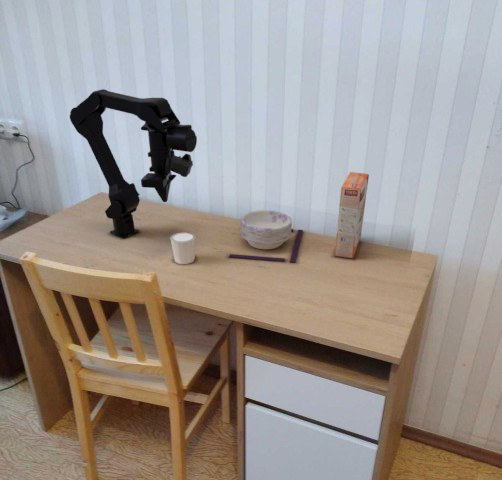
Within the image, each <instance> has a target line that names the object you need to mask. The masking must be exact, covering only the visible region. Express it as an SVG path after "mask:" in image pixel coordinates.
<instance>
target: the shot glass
mask: <svg viewBox="0 0 502 480" xmlns="http://www.w3.org/2000/svg"><path fill="white" fill-rule="evenodd" d="M170 242H171V248H172V249H171V250H172V253H173V254H172V255H173V258H174V262H175V263H176V264H179V265H189V264H191V263H193V262H194V261H195V258H196V236H195V234H194V233H191V232H178V233H174V234H172V235H171V236H170Z"/></svg>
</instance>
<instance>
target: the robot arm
mask: <svg viewBox="0 0 502 480" xmlns="http://www.w3.org/2000/svg"><path fill="white" fill-rule="evenodd" d="M107 109H110V110H112V111H113V110H114V111H118V112H122V113H126V114H131V115H134V116H136V117H137V118H138V119H139V120H140V121H143V122H145V123H144V124H143V125H142V126H141V127H140V130H141V131H144V132H145V131H146V132H147V134H148V136H147V137H148V144H149V151H148V152H147V157H148V158H150V164H151V166H150V167H149V168H148V169H149V170H148V171H149V172H147V173H146V174H145V175H144V176H143V177H142V178H141V179H140V184H141V187H142V188H146V189H147V188H149V189H154V190H155V192H156V193H157V195H158V196H159V199H161V201H162V202H163V203H167V202H168V199H169V194H170V187H171V183H172V182H173V180H175V178H176V177H177V174H178V175H180V176H181V177H182V178H183V177H184V178H187V177H188V175H190V174H191V170H192V167H193V166H194V163H193V162H194V161H193V160H192V157H191V155H190V154H189V153H192V152H194V151H195V150H196V147H197V143H198V138H197V134H196V132H195V131H194V130H193V128H192V125H191V124H181V121H180V119H179V118H178V116H177V115H176V113H175V112H174V110H173V108H172V107H171V104H170V103H169V101H168V99H166V98H164V97H143V98H141V97H136V96H132V95H127V94H124V93H123V94H122V93H118V92H114V91H110V90H108V89H105V88H104V89H103V88H102V89H99V90H94V91H92V92H91V93H90V94H89V96H88V97H87V98H85V99H84V100H83V101H81V102H80V103H79V104H78V105H77V106H75V107H73V108H72V109H71V110H70V112H69V113H70V114H69V120H70V122H71V124H72V125H73V127H74V129H75V130H76V132H77V133H78V134H79V135H81V136H82V137H83V138H84V139H85V140H86V141H87V143H88V145H89V147H90V150H91V152H92V153H93V156H94V158H95V161H96V162H97V164H98V166H99V168H100V170H101V173H102V175H103V177H104V179H105V181H106V183H107V186H108V199H109V202H110V205H109V206H108V207H107V208H106V209H105V211H104V213H105V215H106V218H108V219H111V220H112V226H113V229H112V230H111V231H109V233H110V234H111V235H113V236H116V237H117V238H121V239H125V238H127V237H130V236H133V235H135V234H137V233H139V232H140V231H139V230H138V229H136V228H135V221H134V217H133V213H134V212H136V211H137V210H138V206H139V204H140V201H141V199H140V193H139V192H138V190H137V188H136V185H135V183H133V182H132V183H129V182H128V181H127V180H125V179H124V176H123V173H122V172H121V170H120V167H119V165H118V163H117V161H116V159H115V156H114V154H113V153H112V150H111V148H110V146H109V144H108V141H107V139H106V137H105V135H104V120H103V117H102V115H103V114H104V113H105V111H106V110H107ZM175 151H179V152H187V153H184V154H183V156H181V155H179V156H178V155H175ZM172 173H175V174H172Z"/></svg>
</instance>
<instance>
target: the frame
mask: <svg viewBox="0 0 502 480" xmlns="http://www.w3.org/2000/svg"><path fill="white" fill-rule="evenodd" d="M303 232H304V230H303V229H297V233H296V236H295V240H294V244H293V248H292V252H291V256H290V259H289V263H291V264H295V263H296V261H297V257H298V253H299V249H300V244H301V241H302V236H303ZM291 233H294V228H291ZM228 258H229V259H242V260H254V261H255V260H256V261H265V262H267V261H268V262H278V263H285V262H286V258H285V257H283V258H282V257H272V256H271V257H269V256H257V255H247V254H246V255H244V254H233V253H232V254H231V253H230V254H229V256H228Z"/></svg>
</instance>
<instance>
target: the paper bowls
mask: <svg viewBox="0 0 502 480" xmlns="http://www.w3.org/2000/svg"><path fill="white" fill-rule="evenodd" d="M292 225H293V220H292V218H291V217H290V216H289V215H288V214H286V213H283V212H281V211H275V210H265V209H262V210H261V209H260V210H253V211H249V212H246V213H244V214H243V215H242V216H241V217H240V220H239V232H240V233H239V234H240V236H241V237H242V238H243V240H246V241H247V243H248V244H249V245H250V246H251V247H253V248H255V249H259V250H273V249H277V248H279V247H281V246H282V245H283V244H284V243H285V242H286V241H289V239H291V237H292V232H291V229H292Z"/></svg>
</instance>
